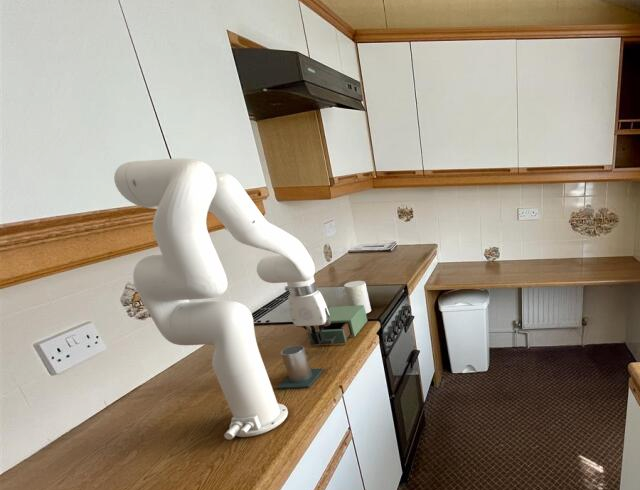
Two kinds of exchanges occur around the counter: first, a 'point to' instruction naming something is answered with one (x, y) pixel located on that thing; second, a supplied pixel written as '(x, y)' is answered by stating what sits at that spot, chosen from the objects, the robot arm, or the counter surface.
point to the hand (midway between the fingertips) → (319, 342)
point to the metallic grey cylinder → (296, 363)
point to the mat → (304, 384)
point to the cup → (357, 294)
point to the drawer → (334, 333)
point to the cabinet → (349, 317)
